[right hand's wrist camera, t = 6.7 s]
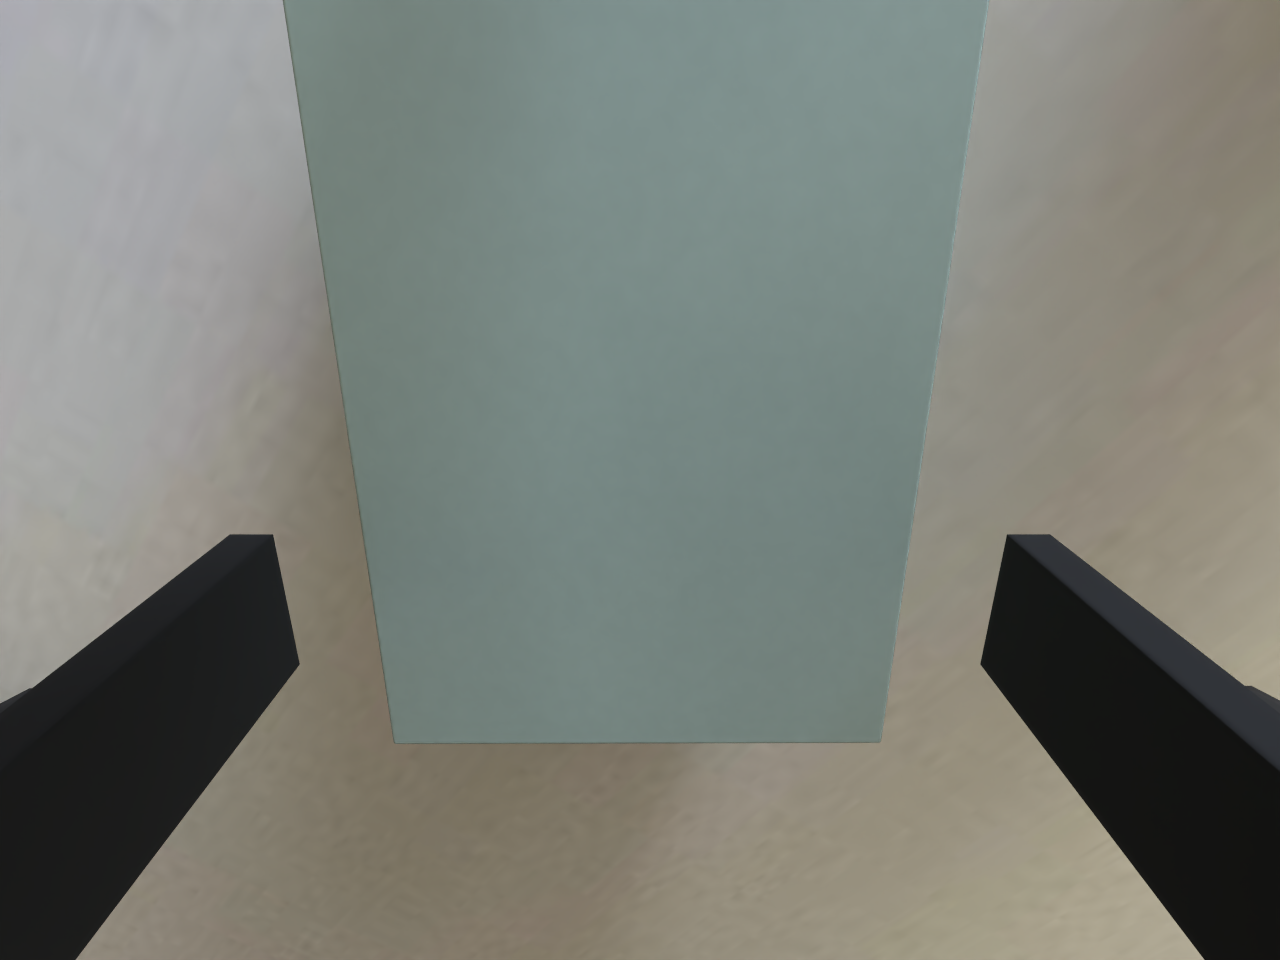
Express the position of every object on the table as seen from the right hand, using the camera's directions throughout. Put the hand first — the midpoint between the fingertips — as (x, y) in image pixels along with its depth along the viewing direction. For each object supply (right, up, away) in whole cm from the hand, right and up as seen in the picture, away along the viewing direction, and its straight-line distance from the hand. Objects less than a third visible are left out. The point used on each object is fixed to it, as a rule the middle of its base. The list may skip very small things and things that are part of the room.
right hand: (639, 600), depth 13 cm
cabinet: (0, +7, +11) cm, 13 cm away
